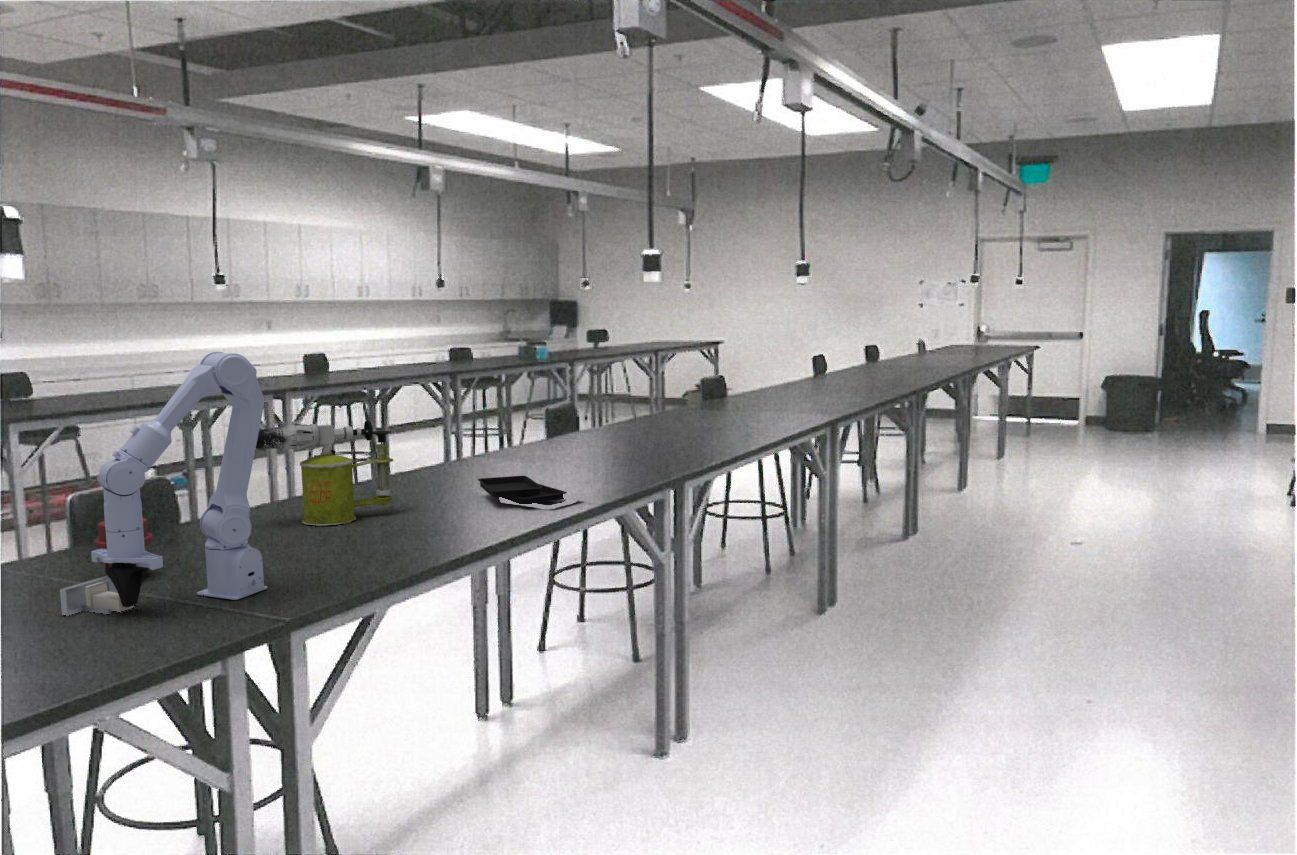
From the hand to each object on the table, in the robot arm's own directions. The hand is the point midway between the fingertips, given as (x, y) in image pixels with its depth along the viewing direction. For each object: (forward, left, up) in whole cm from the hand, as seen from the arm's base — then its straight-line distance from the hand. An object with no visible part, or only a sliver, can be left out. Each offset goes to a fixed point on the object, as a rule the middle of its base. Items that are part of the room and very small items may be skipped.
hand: (130, 605), depth 170 cm
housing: (+5, 0, -1) cm, 6 cm away
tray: (-17, -107, -2) cm, 108 cm away
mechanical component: (+19, -15, -1) cm, 24 cm away
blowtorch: (+16, -70, -1) cm, 72 cm away
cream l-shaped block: (+6, 0, -1) cm, 6 cm away
